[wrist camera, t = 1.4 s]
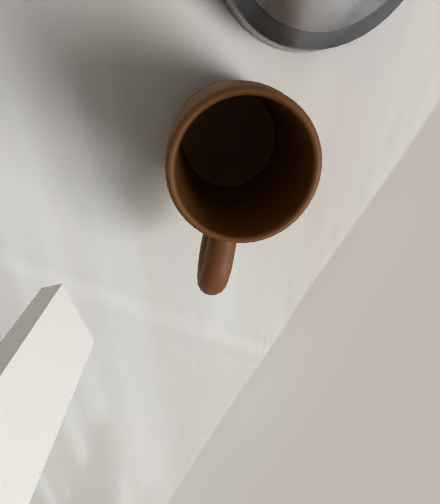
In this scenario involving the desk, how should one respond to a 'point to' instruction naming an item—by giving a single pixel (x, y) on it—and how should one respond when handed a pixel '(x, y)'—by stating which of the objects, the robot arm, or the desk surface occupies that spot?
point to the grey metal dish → (310, 21)
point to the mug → (240, 169)
